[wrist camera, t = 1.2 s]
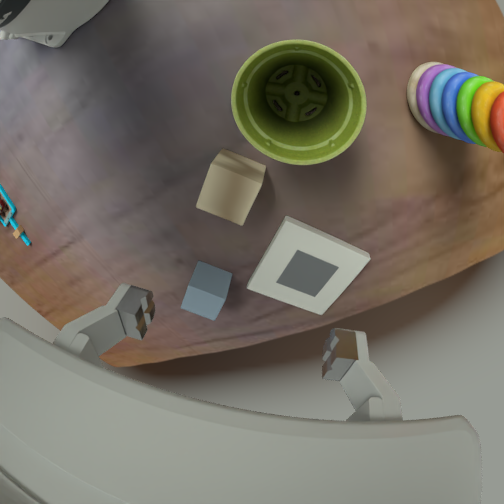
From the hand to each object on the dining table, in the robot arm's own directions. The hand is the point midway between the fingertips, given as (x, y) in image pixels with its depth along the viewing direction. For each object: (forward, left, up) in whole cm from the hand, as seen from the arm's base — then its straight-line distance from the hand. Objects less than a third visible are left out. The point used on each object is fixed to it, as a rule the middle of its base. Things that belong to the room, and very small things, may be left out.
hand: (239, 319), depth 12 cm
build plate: (+10, -11, -21) cm, 26 cm away
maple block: (-3, -3, -21) cm, 21 cm away
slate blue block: (-1, -19, -21) cm, 28 cm away
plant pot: (-1, +8, -21) cm, 22 cm away
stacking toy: (+12, +16, -21) cm, 29 cm away
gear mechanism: (-45, -24, -22) cm, 55 cm away
